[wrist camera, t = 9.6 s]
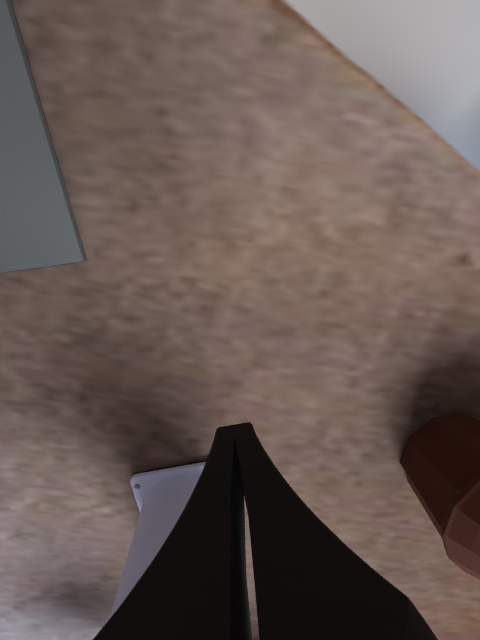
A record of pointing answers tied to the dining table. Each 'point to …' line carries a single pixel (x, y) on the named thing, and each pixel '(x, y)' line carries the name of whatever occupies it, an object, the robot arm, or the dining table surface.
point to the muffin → (449, 483)
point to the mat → (29, 168)
